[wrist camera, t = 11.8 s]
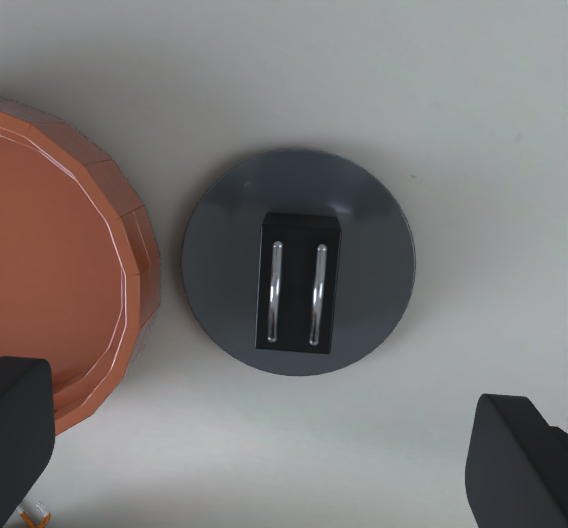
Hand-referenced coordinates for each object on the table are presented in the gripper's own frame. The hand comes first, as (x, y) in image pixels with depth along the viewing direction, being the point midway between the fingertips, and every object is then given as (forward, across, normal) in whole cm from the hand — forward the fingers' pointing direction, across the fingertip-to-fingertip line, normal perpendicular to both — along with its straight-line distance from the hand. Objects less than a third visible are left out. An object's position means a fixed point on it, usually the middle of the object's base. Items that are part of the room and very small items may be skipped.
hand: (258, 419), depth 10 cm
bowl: (+14, +12, +2) cm, 19 cm away
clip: (+13, -1, +1) cm, 13 cm away
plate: (+14, -1, +1) cm, 14 cm away
